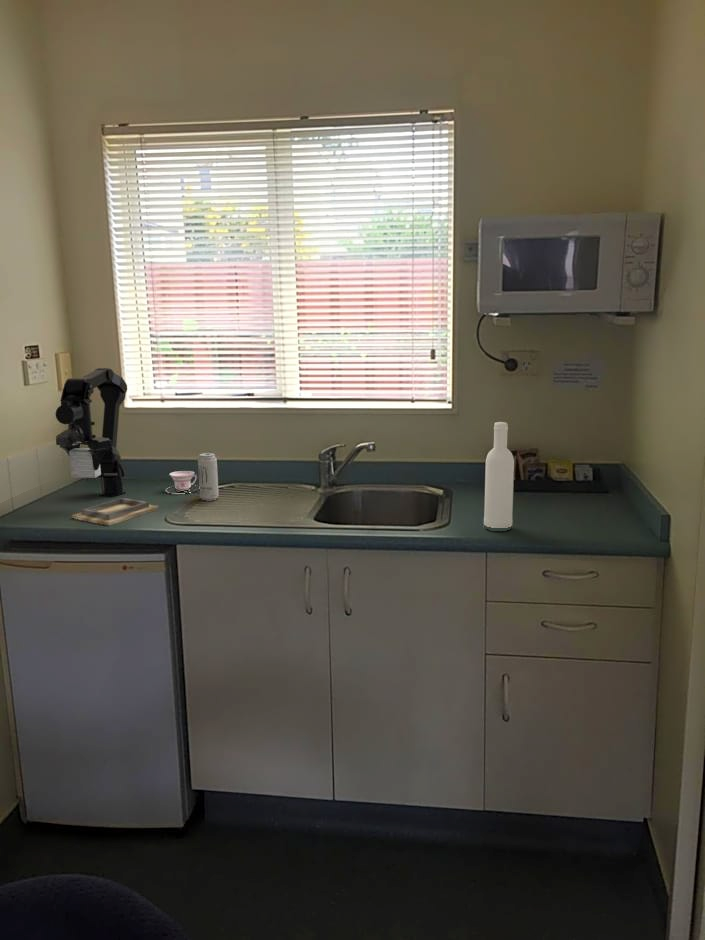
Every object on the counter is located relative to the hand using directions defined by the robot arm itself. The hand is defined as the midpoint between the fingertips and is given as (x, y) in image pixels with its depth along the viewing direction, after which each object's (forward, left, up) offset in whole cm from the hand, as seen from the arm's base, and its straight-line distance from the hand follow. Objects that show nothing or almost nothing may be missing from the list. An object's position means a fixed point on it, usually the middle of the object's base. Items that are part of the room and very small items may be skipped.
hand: (85, 468), depth 240 cm
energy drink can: (+27, +26, -13) cm, 40 cm away
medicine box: (0, 0, -3) cm, 3 cm away
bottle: (+121, +39, -13) cm, 128 cm away
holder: (+13, -1, -13) cm, 18 cm away
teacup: (+11, +31, -13) cm, 36 cm away
